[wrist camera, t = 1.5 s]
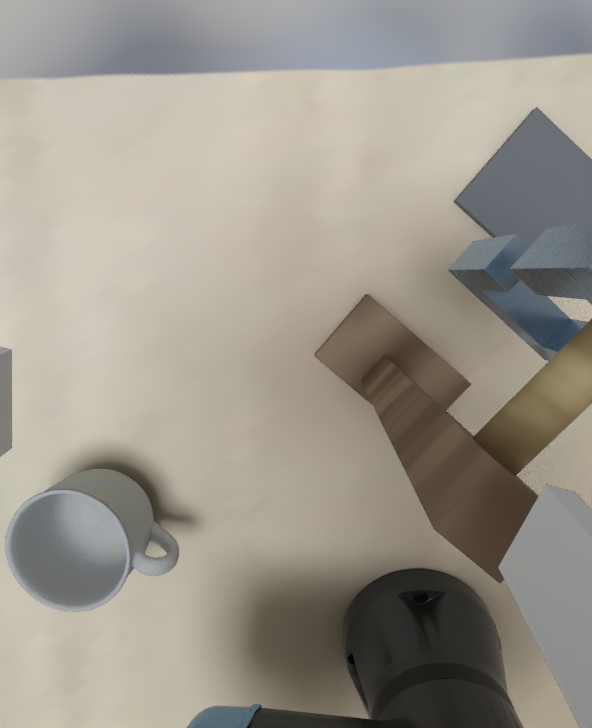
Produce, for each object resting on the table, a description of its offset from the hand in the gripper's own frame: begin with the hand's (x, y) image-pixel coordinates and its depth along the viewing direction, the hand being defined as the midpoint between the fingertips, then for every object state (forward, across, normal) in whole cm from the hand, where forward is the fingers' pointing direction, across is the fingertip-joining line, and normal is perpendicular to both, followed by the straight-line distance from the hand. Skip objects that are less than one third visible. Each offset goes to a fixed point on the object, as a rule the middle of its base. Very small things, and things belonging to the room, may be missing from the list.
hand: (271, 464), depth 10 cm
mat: (+29, -17, -12) cm, 35 cm away
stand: (+27, -11, +2) cm, 29 cm away
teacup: (+24, +12, +26) cm, 37 cm away
